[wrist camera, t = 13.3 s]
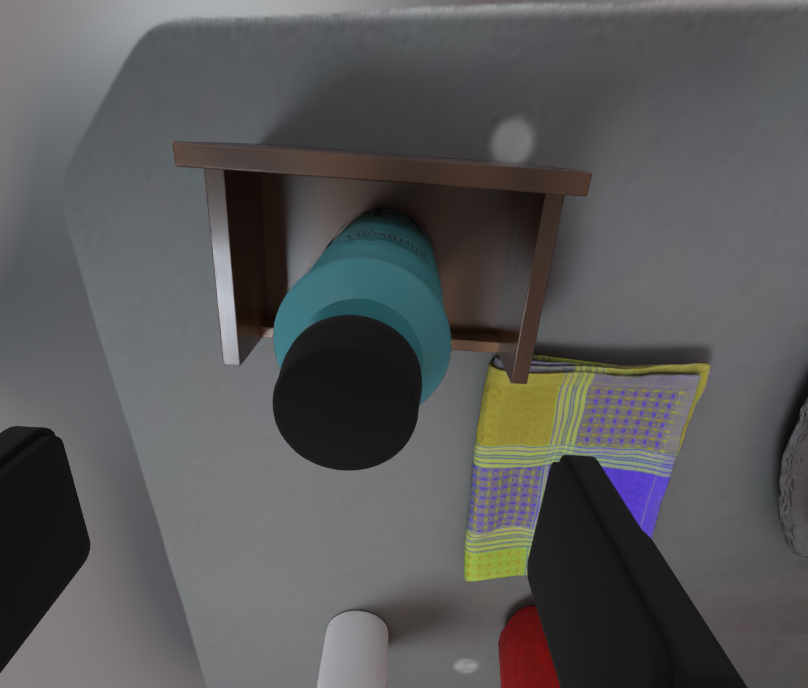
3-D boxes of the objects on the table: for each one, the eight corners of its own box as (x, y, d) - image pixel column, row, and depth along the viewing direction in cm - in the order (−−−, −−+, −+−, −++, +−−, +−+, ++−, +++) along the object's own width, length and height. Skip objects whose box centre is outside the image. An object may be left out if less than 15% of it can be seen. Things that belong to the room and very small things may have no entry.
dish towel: (452, 563, 45) (455, 587, 43) (489, 337, 36) (495, 352, 33) (626, 573, 46) (638, 599, 43) (708, 353, 36) (731, 369, 33)
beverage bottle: (436, 297, 31) (477, 512, 13) (340, 302, 31) (244, 521, 13) (433, 198, 29) (478, 288, 10) (328, 205, 29) (188, 304, 10)
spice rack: (266, 313, 35) (201, 390, 24) (257, 143, 30) (171, 141, 19) (499, 329, 35) (540, 411, 24) (526, 163, 31) (593, 172, 20)
